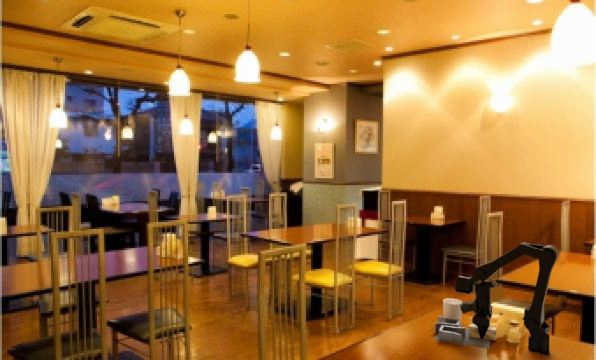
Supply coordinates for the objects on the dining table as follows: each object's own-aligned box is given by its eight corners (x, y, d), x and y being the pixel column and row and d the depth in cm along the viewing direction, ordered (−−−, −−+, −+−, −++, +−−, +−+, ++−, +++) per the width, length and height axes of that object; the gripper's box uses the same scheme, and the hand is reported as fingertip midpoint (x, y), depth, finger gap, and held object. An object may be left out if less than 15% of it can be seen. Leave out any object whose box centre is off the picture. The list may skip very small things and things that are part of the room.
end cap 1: (434, 332, 187) (434, 323, 186) (438, 325, 195) (438, 315, 195) (457, 336, 183) (457, 326, 183) (460, 328, 191) (460, 318, 191)
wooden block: (496, 337, 181) (496, 327, 181) (495, 340, 178) (496, 330, 178) (469, 333, 186) (469, 323, 186) (468, 336, 183) (468, 326, 183)
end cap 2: (465, 337, 182) (465, 327, 182) (462, 346, 173) (462, 335, 173) (442, 333, 186) (442, 323, 186) (438, 342, 177) (438, 331, 177)
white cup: (458, 328, 192) (458, 305, 192) (440, 324, 197) (440, 301, 197) (464, 323, 199) (464, 300, 198) (446, 319, 203) (446, 297, 203)
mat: (491, 333, 186) (491, 332, 186) (488, 349, 171) (488, 348, 171) (440, 326, 195) (440, 325, 195) (433, 340, 180) (433, 339, 180)
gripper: (464, 288, 193) (464, 324, 194) (458, 300, 177) (458, 340, 177) (492, 291, 188) (492, 328, 189) (489, 304, 172) (489, 345, 172)
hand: (482, 335), depth 182 cm, fingers open, 8 cm apart
